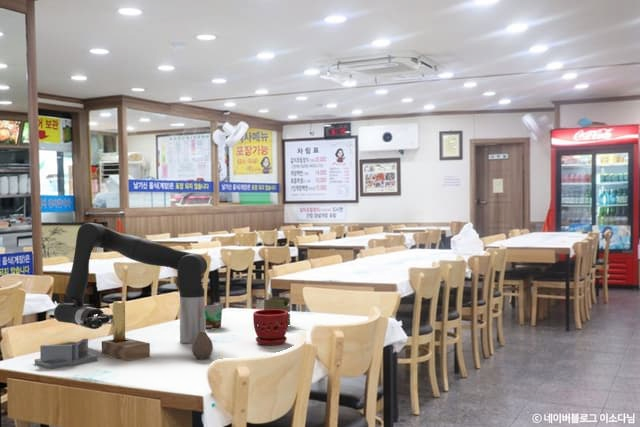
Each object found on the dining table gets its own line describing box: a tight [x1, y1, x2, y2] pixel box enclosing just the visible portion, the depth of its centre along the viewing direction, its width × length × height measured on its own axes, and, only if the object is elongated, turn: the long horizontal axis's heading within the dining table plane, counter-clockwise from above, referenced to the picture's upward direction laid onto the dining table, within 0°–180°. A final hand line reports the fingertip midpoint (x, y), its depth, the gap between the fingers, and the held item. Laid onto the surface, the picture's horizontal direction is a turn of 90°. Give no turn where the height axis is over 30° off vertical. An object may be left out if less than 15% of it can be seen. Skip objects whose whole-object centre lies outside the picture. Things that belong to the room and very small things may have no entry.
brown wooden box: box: [101, 337, 151, 361], centre depth 232 cm, size 16×9×4 cm, turn 47°
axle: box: [112, 300, 126, 343], centre depth 234 cm, size 4×4×18 cm
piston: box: [263, 296, 291, 326], centre depth 291 cm, size 11×12×11 cm
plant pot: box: [252, 309, 289, 346], centre depth 252 cm, size 13×13×12 cm
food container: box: [205, 302, 224, 330], centre depth 288 cm, size 12×6×10 cm, turn 168°
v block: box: [34, 338, 98, 370], centre depth 221 cm, size 12×16×6 cm
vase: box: [191, 332, 214, 360], centre depth 226 cm, size 7×7×9 cm
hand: (112, 322), depth 238 cm, fingers open, 8 cm apart
